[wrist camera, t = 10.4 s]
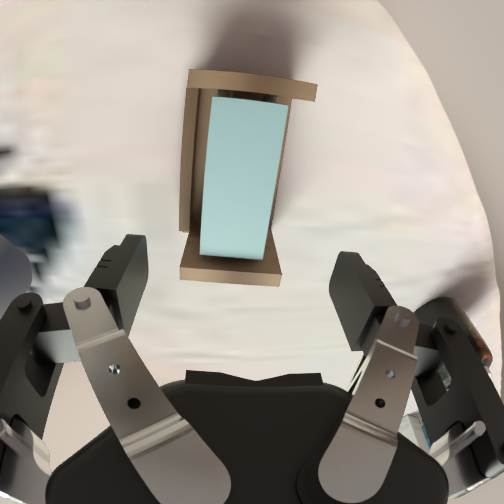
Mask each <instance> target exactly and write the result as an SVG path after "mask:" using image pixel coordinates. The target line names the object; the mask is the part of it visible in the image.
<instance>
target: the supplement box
mask: <svg viewBox="0 0 504 504" xmlns="http://www.w3.org/2000/svg"><path fill="white" fill-rule="evenodd" d="M398 432H400V433H401V434H402V435H404V436H405V437H406V438H408V439H409V440H410V441H412V442H413V443H414V444H416V445H417V446H418V447H420V448H421V449H422V450H424V451H425V452H426V453H428V454H429V455H430V449H429V447H428V444H427V441H426V438H425V436H424V433H423V431H422V428H421V425H420V423H419V420H418V418H416V417H413V416H410V415H406V416H405V417H403V418H402V421H401V424H400V427H399V430H398Z"/></svg>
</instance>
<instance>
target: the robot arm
mask: <svg viewBox="0 0 504 504" xmlns="http://www.w3.org/2000/svg"><path fill="white" fill-rule="evenodd" d="M147 280H148V257H147V242H146V237H145V235H133V234H127V235H126V237H125V238H124V240H123V241H122V243H121V245H120V246H118V245H114V246H113V247H111V248H110V249H108V250H107V251H106V252H105V253H104V255H103V256H102V258H101V261H99V263H98V264H97V267H95V269H94V271H93V272H92V274H91V276H90V277H89V279H88V281H87V282H86V284H85V286H84V287H81V288H77V289H75V290H73V291H71V292H69V293H68V294H67V295H66V296H65V298H64V300H63V302H61V303H53V304H43V301H42V298H41V297H40V296H39V295H38V294H36V293H24V294H22V295H19V296H18V297H16V298H15V299H14V300H13V301H12V302H11V304H10V305H9V307H8V309H7V310H6V312H5V313H4V315H3V317H2V318H1V320H0V496H1V497H5V498H7V499H9V500H11V501H13V502H16V503H26V504H447V501H448V497H450V498H458V497H461V496H463V495H465V494H467V493H468V492H470V491H472V490H474V489H476V488H478V487H479V486H481V485H483V484H485V483H486V482H488V481H490V480H492V479H493V478H495V477H496V476H498V475H499V474H501V473H503V472H504V405H503V403H502V401H501V399H500V396H499V394H498V392H497V390H496V388H495V386H494V384H493V382H492V380H491V379H490V377H489V375H488V373H487V371H486V369H485V367H484V365H483V364H482V362H481V360H480V358H479V356H478V355H477V353H476V351H475V350H474V348H473V346H472V344H471V343H470V341H469V339H468V338H467V336H466V334H465V333H464V331H463V330H462V328H461V327H460V325H459V324H458V323H457V322H455V321H454V320H452V319H450V318H447V317H440V318H438V319H437V321H436V322H435V324H434V326H430V325H425V324H421V323H419V320H418V318H417V316H416V315H415V314H414V313H413V312H412V311H410V310H409V309H407V308H405V307H402V306H397V304H396V303H395V301H394V299H393V298H392V296H391V295H390V293H389V291H388V290H387V288H386V287H385V285H384V283H383V282H382V281H381V279H380V277H379V276H378V274H377V273H376V271H375V270H373V269H372V268H371V267H370V266H369V265H366V264H365V263H364V261H363V259H362V258H361V256H360V255H359V253H356V252H345V251H341V252H340V253H339V255H338V257H337V260H336V264H335V267H334V270H333V273H332V276H331V279H330V283H329V294H330V297H331V299H332V302H333V304H334V307H335V309H336V312H337V314H338V317H339V319H340V322H341V324H342V327H343V330H344V332H345V335H346V337H347V340H348V343H349V345H350V348H351V351H363V353H364V354H363V356H362V358H361V360H360V362H359V364H358V366H357V368H356V370H355V372H354V374H353V376H352V378H351V380H350V382H349V384H348V386H347V388H346V390H343V389H341V388H339V387H337V386H334V385H331V384H327V383H323V381H322V377H321V373H306V374H287V375H283V376H278V377H274V378H269V379H265V380H260V381H253V380H248V379H244V378H240V377H236V376H232V375H228V374H224V373H221V372H205V371H192V370H186V378H185V380H179V381H175V382H171V383H168V384H165V385H163V386H161V387H159V386H158V384H157V383H156V381H155V380H154V378H153V377H152V375H151V374H150V372H149V371H148V369H147V368H146V366H145V364H144V363H143V361H142V360H141V358H140V356H139V355H138V353H137V352H136V350H135V348H134V347H133V345H132V343H131V342H130V340H129V338H128V336H129V333H130V330H131V327H132V324H133V321H134V318H135V315H136V312H137V309H138V306H139V303H140V300H141V298H142V295H143V292H144V289H145V286H146V284H147ZM76 361H81V362H82V364H83V366H84V369H85V372H86V374H87V376H88V379H89V381H90V383H91V385H92V388H93V390H94V392H95V394H96V396H97V399H98V401H99V403H100V405H101V407H102V409H103V411H104V413H105V415H106V417H107V419H108V421H109V423H110V426H109V427H108V428H107V429H105V430H104V431H103V432H102V433H100V434H99V435H98V436H97V437H95V438H94V439H93V440H91V441H90V442H89V443H88V444H86V445H85V446H84V447H82V448H81V449H80V450H79V451H77V452H76V453H75V454H73V455H72V456H71V457H70V458H68V459H67V460H66V461H64V462H63V463H62V464H60V465H59V466H58V467H57V468H56V469H55V470H54V471H53V472H51V469H50V454H49V450H48V448H47V446H46V444H45V443H44V442H43V441H42V437H43V433H44V429H45V425H46V421H47V417H48V413H49V410H50V406H51V403H52V399H53V396H54V392H55V389H56V386H57V382H58V379H59V376H60V374H61V370H62V368H63V365H64V363H65V362H76ZM444 364H445V366H446V368H447V370H448V372H449V375H450V377H451V386H450V388H449V389H448V391H447V390H446V388H445V385H444V383H443V381H442V379H441V376H440V374H439V370H440V369H441V368H442V367H443V365H444ZM410 390H412V392H413V395H414V398H415V401H416V403H417V406H418V409H419V412H420V415H421V418H422V421H423V423H424V426H425V430H426V433H427V436H428V439H429V442H430V445H431V449H430V455H429V454H428V453H426V452H425V451H424V450H422V449H421V448H420V447H418V446H417V445H416V444H414V443H413V442H412V441H410V440H409V439H408V438H406V437H405V436H404V435H402V434H401V433H400V432H398V430H399V427H400V424H401V421H402V418H403V414H404V411H405V408H406V404H407V401H408V397H409V394H410Z"/></svg>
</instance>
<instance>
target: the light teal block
mask: <svg viewBox="0 0 504 504" xmlns="http://www.w3.org/2000/svg"><path fill="white" fill-rule="evenodd" d="M287 112H288V105H285V104H281V103H276V102H269V101H262V100H254V99H246V98H236V97H226V96H212V104H211V113H210V122H209V132H208V142H207V153H206V164H205V176H204V189H203V203H202V219H201V237H200V255H210V256H222V257H234V258H246V259H258V260H263V254H264V249H265V243H266V237H267V231H268V226H269V220H270V214H271V208H272V202H273V197H274V191H275V185H276V179H277V173H278V167H279V161H280V155H281V149H282V143H283V137H284V131H285V124H286V118H287Z"/></svg>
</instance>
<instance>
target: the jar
mask: <svg viewBox="0 0 504 504" xmlns="http://www.w3.org/2000/svg"><path fill="white" fill-rule="evenodd" d="M414 314H415V315H416V316H417V318H418V320H419V323H421V324H425V325H430V326H434V324H435V322H436V321H437V319H438V318H440V317H447V318H450V319H452V320H454V321H455V322H457V323H458V324H459V325H460V327H461V328H462V330H463V331H464V333H465V334H466V336H467V338H468V339H469V341H470V343H471V344H472V346H473V348H474V350H475V351H476V353H477V355H478V356H479V358H480V360H481V362H482V364H483V365H484V367H485V369H486V371H487V373H488V375H489V377H490V379H491V377H492V374H491V372H490V371H489V367H490V365H491V363H492V354H491V352H490V350H489V348H488V346H487V345H486V343H485V342H484V340H483V338H482V337H481V335H480V334H479V332H478V331H477V329H476V328H475V327H474V325H473V324H472V322H471V321H470V320H469V318H468V317H467V315H466V314H465V313H464V311H463V310H462V309H461V307H460V306H459V305H458V304H457V302H456V301H455V300H453V299H452V298H448V297H444V298H439V299H436V300H433V301H431V302H429V303H427V304H425V305H424V306H422V307H421V308H420V309H418V310H417V311H416V312H415V313H414ZM439 374H440V376H441V379H442V381H443V383H444V385H445V388H446V390H447V391H448V389H449V388H450V386H451V377H450V375H449V372H448V370H447V368H446V366H445V364H444V365H443V367H442V368H441V369H440V370H439Z"/></svg>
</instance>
